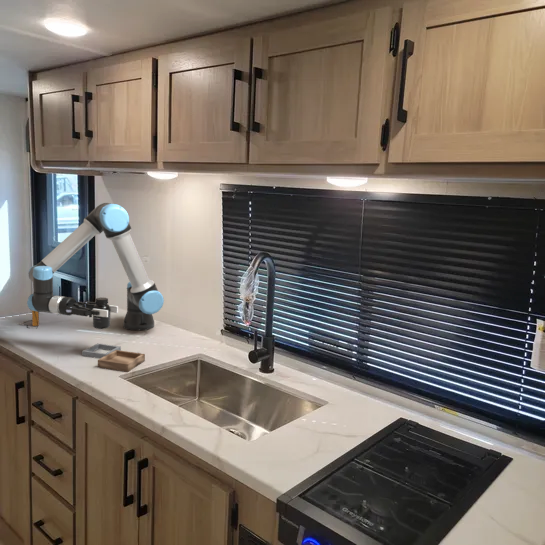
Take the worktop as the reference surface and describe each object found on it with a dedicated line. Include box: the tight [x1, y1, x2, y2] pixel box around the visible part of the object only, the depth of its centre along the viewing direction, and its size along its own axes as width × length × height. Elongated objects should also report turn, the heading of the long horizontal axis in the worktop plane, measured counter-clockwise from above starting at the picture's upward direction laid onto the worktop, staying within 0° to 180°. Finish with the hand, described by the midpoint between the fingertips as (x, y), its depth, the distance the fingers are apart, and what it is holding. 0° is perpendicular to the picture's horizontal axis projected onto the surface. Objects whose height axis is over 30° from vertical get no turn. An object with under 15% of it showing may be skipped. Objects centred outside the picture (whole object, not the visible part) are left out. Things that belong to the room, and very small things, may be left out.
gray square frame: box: [81, 343, 122, 359], centre depth 205 cm, size 11×11×2 cm
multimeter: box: [18, 310, 40, 329], centre depth 237 cm, size 15×10×20 cm
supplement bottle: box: [92, 297, 111, 330], centre depth 202 cm, size 7×7×12 cm
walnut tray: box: [97, 350, 146, 373], centre depth 194 cm, size 13×13×3 cm
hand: (112, 311), depth 201 cm, fingers closed on supplement bottle, 7 cm apart
